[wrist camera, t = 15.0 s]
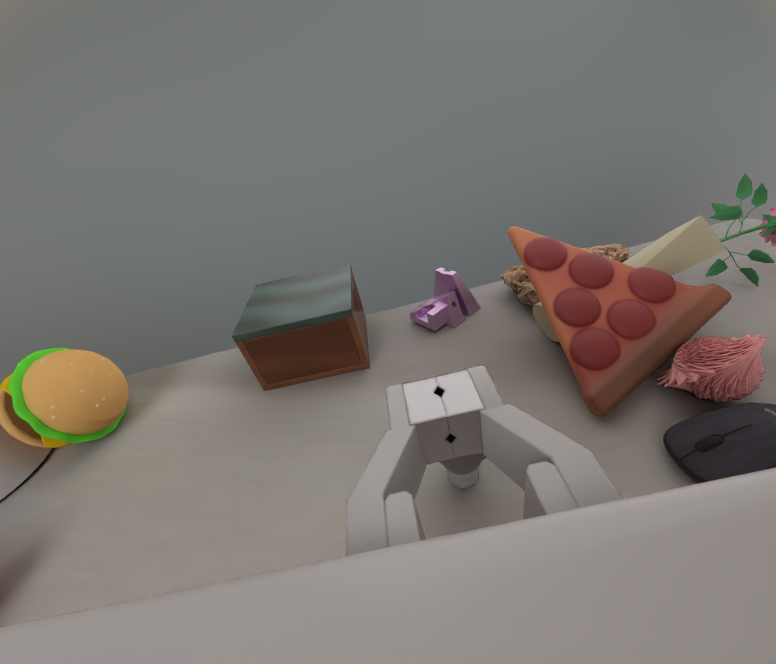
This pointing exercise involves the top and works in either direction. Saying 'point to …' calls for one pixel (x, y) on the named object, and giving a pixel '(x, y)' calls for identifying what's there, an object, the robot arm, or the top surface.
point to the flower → (717, 367)
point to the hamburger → (63, 398)
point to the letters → (446, 302)
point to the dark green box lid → (297, 302)
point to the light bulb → (463, 469)
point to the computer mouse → (725, 442)
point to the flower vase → (695, 246)
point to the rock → (524, 287)
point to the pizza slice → (612, 314)
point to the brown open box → (310, 350)
